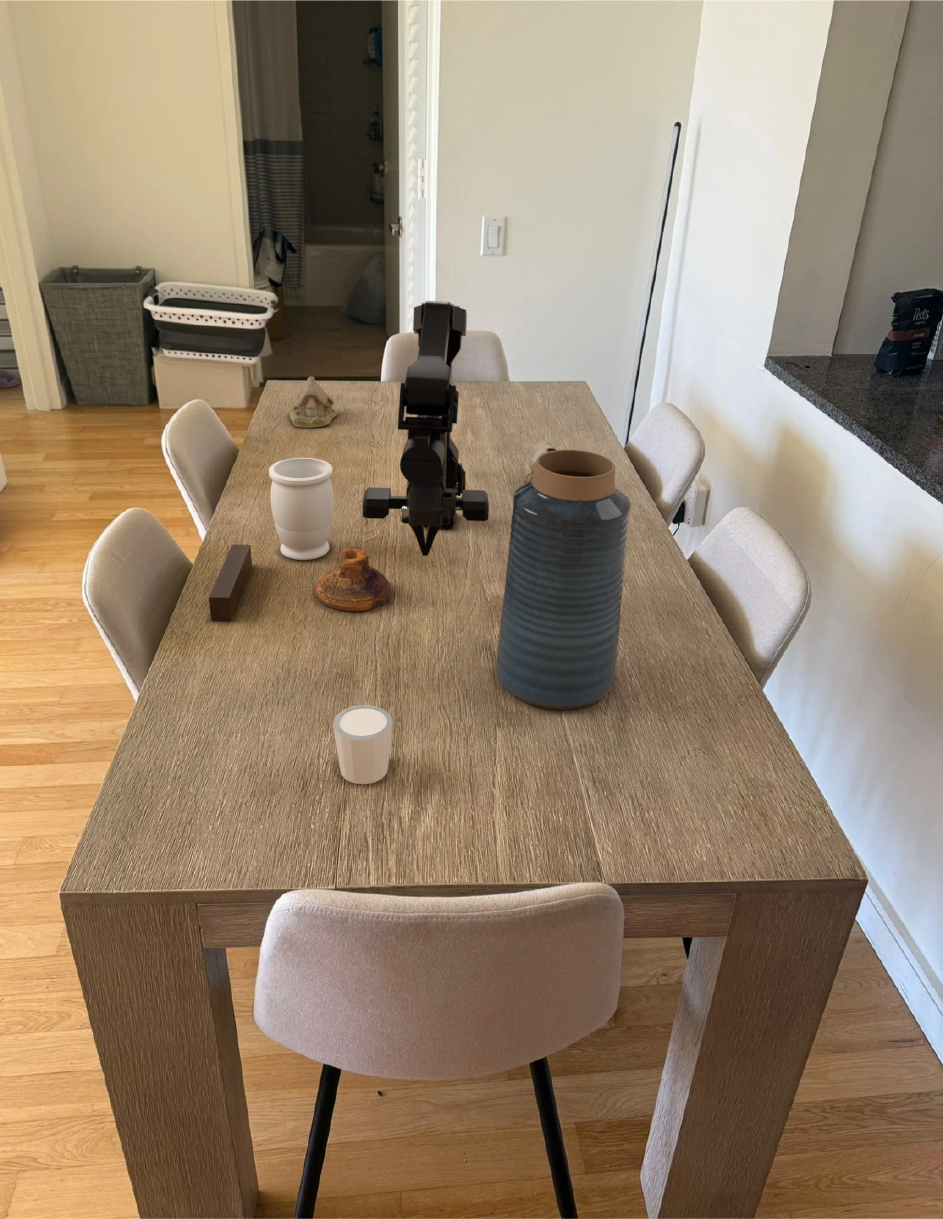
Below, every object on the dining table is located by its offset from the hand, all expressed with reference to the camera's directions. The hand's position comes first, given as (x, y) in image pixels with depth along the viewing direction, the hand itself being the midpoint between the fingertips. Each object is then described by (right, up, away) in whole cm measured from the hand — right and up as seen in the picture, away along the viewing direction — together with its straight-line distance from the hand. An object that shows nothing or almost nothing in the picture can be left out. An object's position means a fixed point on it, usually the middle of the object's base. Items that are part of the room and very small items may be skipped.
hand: (425, 554), depth 147 cm
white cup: (-6, -28, -34) cm, 44 cm away
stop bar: (-30, -6, +2) cm, 31 cm away
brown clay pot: (-11, -6, +3) cm, 13 cm away
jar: (-21, +2, +16) cm, 27 cm away
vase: (+19, -18, -15) cm, 30 cm away
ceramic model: (-30, +36, +77) cm, 90 cm away
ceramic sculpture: (+23, +16, +45) cm, 53 cm away
